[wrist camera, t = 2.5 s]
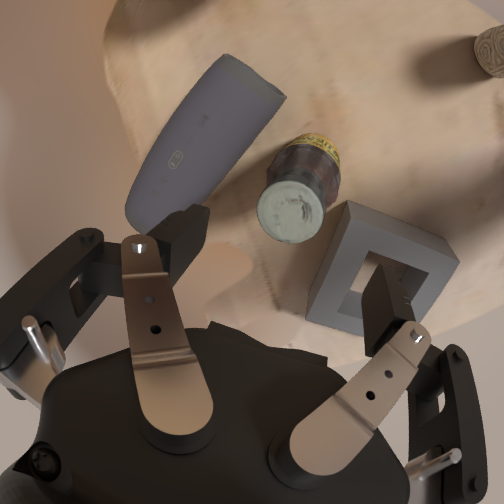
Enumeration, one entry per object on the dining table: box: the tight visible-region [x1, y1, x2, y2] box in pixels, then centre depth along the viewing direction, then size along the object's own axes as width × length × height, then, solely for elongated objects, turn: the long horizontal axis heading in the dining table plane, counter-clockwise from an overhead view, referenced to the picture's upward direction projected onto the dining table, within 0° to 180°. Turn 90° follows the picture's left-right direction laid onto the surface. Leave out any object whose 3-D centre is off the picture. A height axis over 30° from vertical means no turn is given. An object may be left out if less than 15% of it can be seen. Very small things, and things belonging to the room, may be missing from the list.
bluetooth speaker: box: [125, 54, 287, 235], centre depth 31 cm, size 23×9×10 cm, turn 140°
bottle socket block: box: [305, 200, 460, 337], centre depth 35 cm, size 16×16×7 cm
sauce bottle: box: [257, 133, 341, 244], centre depth 24 cm, size 7×6×20 cm
